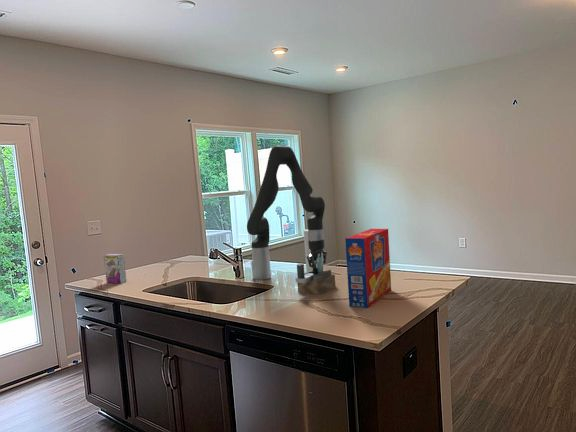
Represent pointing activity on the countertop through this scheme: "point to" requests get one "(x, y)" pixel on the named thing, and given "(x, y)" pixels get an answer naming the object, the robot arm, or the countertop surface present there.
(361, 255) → the pasta box
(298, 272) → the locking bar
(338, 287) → the countertop surface
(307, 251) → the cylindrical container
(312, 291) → the socket block
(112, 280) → the candy bar box
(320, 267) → the teal peg
